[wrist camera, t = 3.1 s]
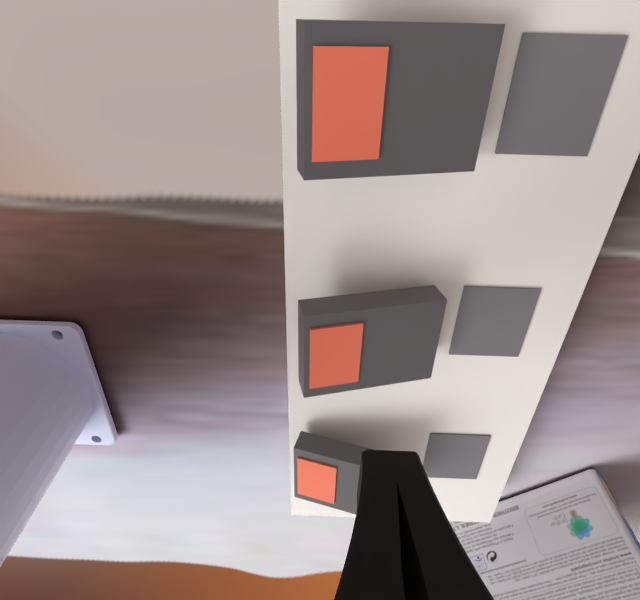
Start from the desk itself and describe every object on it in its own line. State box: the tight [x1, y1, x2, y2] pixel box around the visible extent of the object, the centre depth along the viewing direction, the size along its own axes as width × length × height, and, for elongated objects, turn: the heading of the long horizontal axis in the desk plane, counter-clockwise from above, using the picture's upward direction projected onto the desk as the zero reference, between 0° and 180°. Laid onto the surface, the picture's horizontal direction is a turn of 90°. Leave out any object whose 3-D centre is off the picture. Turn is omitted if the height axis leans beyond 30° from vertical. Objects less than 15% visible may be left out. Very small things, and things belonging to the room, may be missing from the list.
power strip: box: [278, 0, 640, 523], centre depth 17 cm, size 11×32×2 cm, turn 179°
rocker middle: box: [298, 285, 447, 398], centre depth 16 cm, size 5×4×1 cm
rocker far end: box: [294, 431, 374, 515], centre depth 20 cm, size 5×4×1 cm
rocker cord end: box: [296, 19, 505, 180], centre depth 12 cm, size 5×4×1 cm
